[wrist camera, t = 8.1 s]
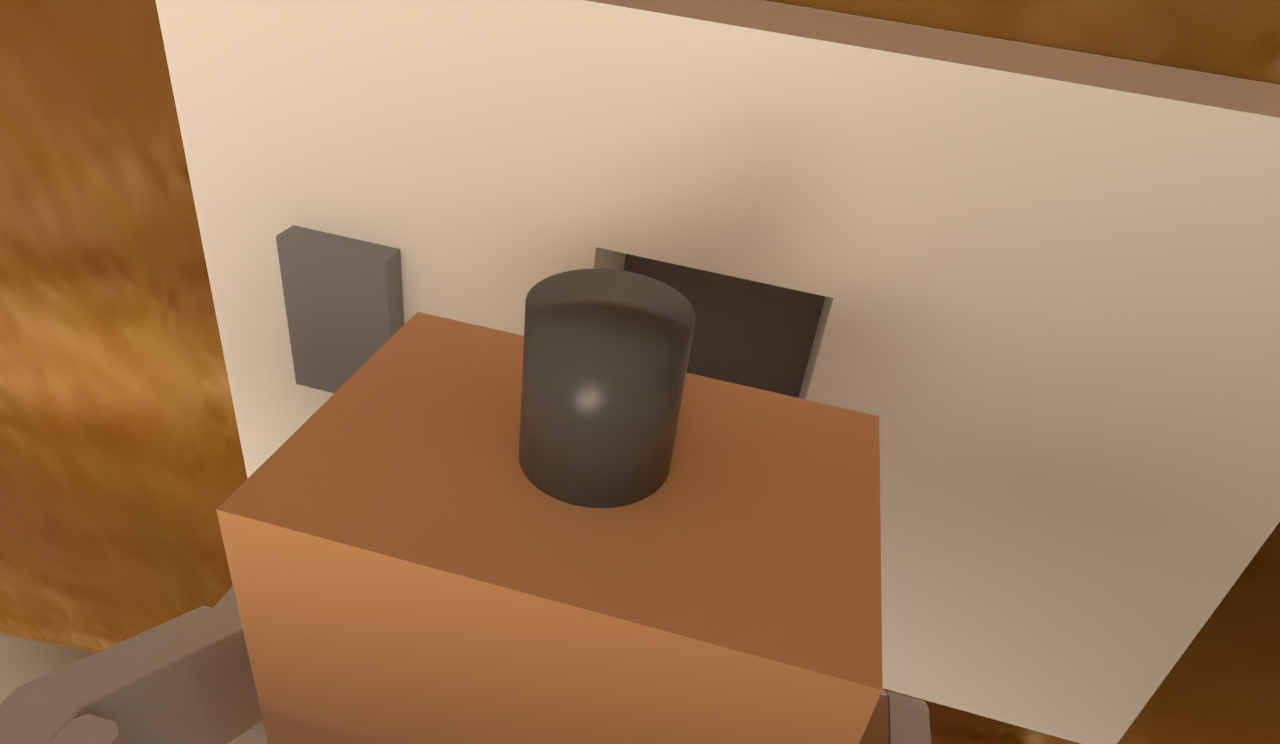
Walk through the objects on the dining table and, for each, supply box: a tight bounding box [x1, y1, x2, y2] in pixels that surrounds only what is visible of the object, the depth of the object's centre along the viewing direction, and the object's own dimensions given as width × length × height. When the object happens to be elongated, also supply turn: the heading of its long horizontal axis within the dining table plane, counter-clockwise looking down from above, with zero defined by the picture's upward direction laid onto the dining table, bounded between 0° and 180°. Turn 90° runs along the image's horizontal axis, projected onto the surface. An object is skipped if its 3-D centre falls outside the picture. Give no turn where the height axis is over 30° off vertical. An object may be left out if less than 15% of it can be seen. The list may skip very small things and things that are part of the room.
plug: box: [216, 269, 882, 744], centre depth 11 cm, size 6×10×6 cm, turn 173°
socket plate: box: [156, 0, 1280, 744], centre depth 18 cm, size 22×14×4 cm, turn 83°
